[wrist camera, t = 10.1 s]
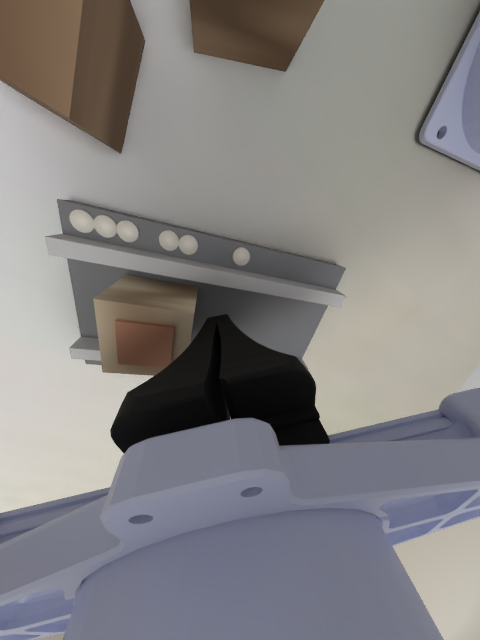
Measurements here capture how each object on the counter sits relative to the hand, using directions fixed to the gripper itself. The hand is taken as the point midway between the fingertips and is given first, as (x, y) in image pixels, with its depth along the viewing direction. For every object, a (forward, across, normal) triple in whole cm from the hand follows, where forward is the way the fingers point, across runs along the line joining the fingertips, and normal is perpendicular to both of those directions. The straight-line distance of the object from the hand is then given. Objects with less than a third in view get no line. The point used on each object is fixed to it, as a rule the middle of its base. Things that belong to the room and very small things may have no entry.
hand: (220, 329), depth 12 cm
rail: (+2, 0, 0) cm, 2 cm away
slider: (+1, +3, -1) cm, 4 cm away
